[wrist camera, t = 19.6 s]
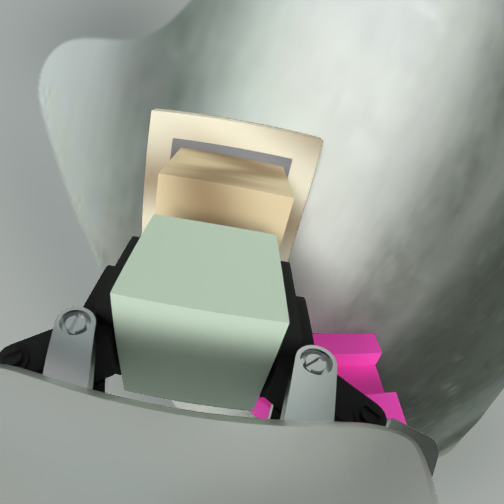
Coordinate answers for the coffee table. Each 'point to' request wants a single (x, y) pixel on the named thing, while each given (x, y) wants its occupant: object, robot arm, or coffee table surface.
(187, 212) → the oak block
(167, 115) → the birch board
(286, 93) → the coffee table surface
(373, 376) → the bracket
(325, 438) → the robot arm
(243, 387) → the sage cube
